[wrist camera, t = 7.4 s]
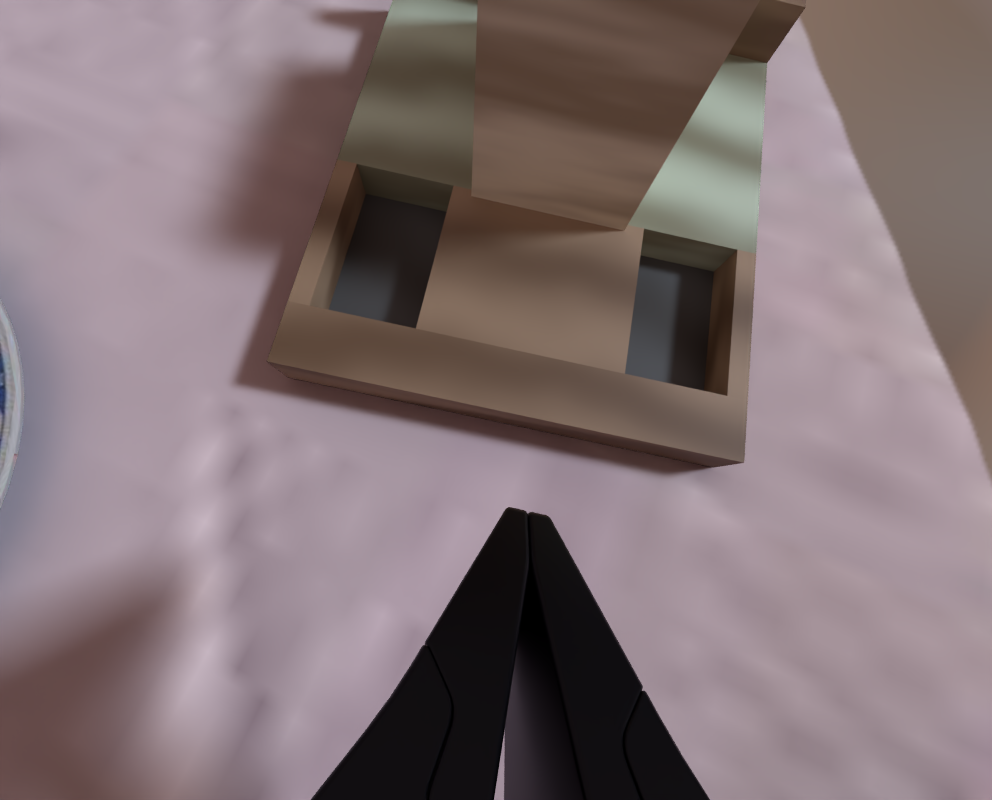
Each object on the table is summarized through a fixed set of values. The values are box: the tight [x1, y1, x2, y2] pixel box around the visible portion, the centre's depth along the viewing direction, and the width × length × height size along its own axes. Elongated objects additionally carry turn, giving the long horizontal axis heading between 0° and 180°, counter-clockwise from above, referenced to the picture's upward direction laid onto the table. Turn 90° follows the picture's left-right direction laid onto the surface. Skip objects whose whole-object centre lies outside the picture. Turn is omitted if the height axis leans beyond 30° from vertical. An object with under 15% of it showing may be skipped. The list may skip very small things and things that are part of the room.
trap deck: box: [267, 0, 806, 467], centre depth 23 cm, size 25×22×6 cm
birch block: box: [471, 0, 760, 230], centre depth 19 cm, size 12×8×11 cm, turn 169°
